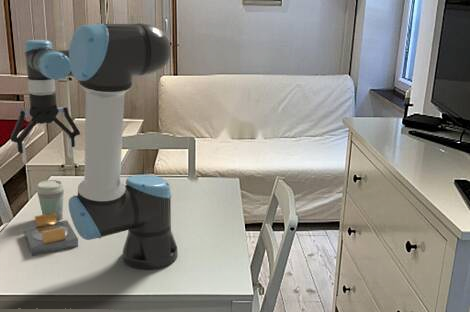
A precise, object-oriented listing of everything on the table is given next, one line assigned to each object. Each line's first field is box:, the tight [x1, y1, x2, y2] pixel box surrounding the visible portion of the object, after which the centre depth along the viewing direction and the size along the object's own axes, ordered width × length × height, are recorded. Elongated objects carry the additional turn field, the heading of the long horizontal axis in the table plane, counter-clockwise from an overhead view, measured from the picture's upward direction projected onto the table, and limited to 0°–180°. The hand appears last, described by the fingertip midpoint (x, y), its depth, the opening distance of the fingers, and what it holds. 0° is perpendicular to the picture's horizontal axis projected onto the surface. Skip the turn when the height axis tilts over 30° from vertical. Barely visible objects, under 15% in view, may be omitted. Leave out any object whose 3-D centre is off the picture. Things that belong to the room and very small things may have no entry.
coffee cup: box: [36, 179, 65, 222], centre depth 166 cm, size 8×9×12 cm
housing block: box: [23, 213, 79, 256], centre depth 152 cm, size 14×13×6 cm
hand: (48, 159), depth 162 cm, fingers open, 13 cm apart
